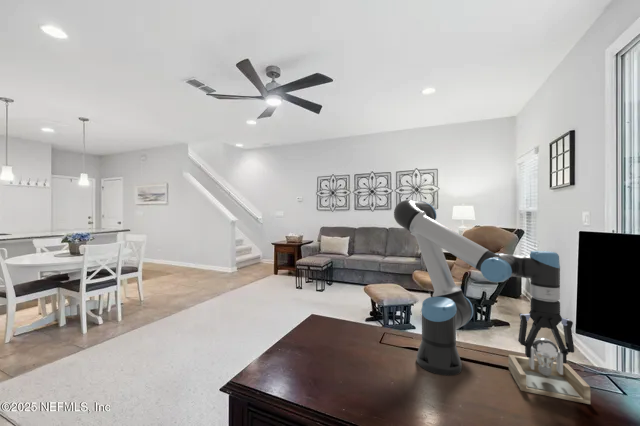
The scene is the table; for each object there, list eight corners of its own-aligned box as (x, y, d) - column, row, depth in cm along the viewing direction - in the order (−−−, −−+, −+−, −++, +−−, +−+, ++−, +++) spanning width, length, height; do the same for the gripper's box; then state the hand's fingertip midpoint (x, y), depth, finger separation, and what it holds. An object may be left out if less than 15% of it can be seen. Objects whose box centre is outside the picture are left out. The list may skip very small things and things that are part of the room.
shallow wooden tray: (520, 390, 86) (520, 374, 87) (508, 368, 99) (508, 354, 100) (590, 404, 80) (590, 386, 80) (567, 379, 93) (567, 364, 93)
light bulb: (564, 382, 86) (563, 343, 86) (539, 380, 87) (538, 341, 88) (550, 371, 93) (550, 334, 93) (527, 368, 94) (526, 333, 94)
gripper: (512, 298, 90) (512, 369, 90) (589, 305, 83) (590, 383, 82) (506, 292, 97) (506, 358, 97) (577, 299, 90) (578, 370, 89)
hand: (545, 369), depth 90 cm, fingers closed on light bulb, 7 cm apart
